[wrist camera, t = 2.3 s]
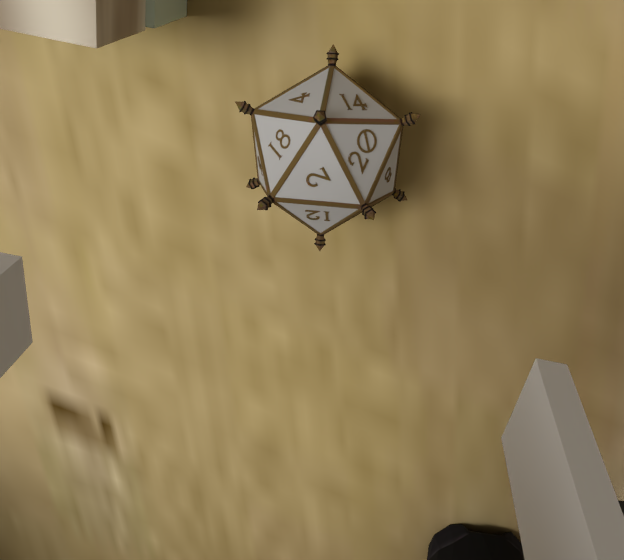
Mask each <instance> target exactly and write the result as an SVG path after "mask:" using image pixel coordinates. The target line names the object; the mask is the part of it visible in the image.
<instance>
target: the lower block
mask: <svg viewBox="0 0 624 560" xmlns="http://www.w3.org/2000/svg"><path fill="white" fill-rule="evenodd" d="M186 16H187V0H146V19H145V27H150V28H157V27H159V26H162V25H165V24H167V23H170V22H172V21H175V20H178V19H180V18H183V17H186Z"/></svg>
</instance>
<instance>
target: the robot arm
mask: <svg viewBox="0 0 624 560" xmlns="http://www.w3.org/2000/svg"><path fill="white" fill-rule="evenodd" d="M31 343H32V334H31V326H30V318H29V310H28V302H27V294H26V286H25V278H24V269H23V261H22V257H21V256H16V255H11V254H6V253H1V252H0V378H1V377H2V376H3V374H4V373H5V372H6V371H7V370H8V369H9V368H10V367H11V366H12V365H13V363H14V362H15V361H16V360H17V359H18V358H19V357H20V356H21V355H22V353H23V352H24V351H25V350H26V349H27V348H28V347H29V346H30V345H31ZM502 444H503V449H504V454H505V459H506V465H507V470H508V475H509V480H510V486H511V491H512V496H513V501H514V507H515V512H516V517H517V522H518V528H519V533H520V538H521V543H522V549H523V554H524V559H525V560H624V501H619V500H618V499H617V497H616V494H615V491H614V489H613V486H612V483H611V481H610V478H609V475H608V473H607V470H606V467H605V465H604V462H603V459H602V457H601V454H600V451H599V449H598V446H597V443H596V440H595V438H594V435H593V432H592V430H591V427H590V424H589V422H588V419H587V416H586V414H585V411H584V408H583V406H582V403H581V400H580V398H579V395H578V392H577V390H576V387H575V384H574V382H573V379H572V376H571V374H570V371H569V368H568V366H567V364H562V363H557V362H552V361H547V360H542V359H537V358H536V359H535V362H534V364H533V366H532V369H531V371H530V373H529V375H528V378H527V380H526V382H525V385H524V387H523V389H522V392H521V394H520V396H519V398H518V401H517V403H516V405H515V408H514V410H513V412H512V415H511V417H510V419H509V421H508V424H507V426H506V428H505V431H504V433H503V435H502Z"/></svg>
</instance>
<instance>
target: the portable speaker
mask: <svg viewBox="0 0 624 560" xmlns="http://www.w3.org/2000/svg"><path fill="white" fill-rule="evenodd" d="M427 560H525V559H524V554H523V549H522V543H521V542H520V541H519V540H518V539H517V538H516V537H515V536H514V534H513V533H512V532H508V533H503V534H502V535H495V534H487V533H480V532H473V531H469V530H468V529H467V528H465V527H464V526H463V525H462V524H459V525H449V526H448V527H446V528H445V529H443V530H441V531H440V532H438V533H437V534H435V535H434V536H433V538H432V540H431V542H430V544H429V548H428V557H427Z"/></svg>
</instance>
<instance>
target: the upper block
mask: <svg viewBox="0 0 624 560" xmlns="http://www.w3.org/2000/svg"><path fill="white" fill-rule="evenodd" d="M145 19H146V0H0V29H4V30H9V31H14V32H19V33H24V34H29V35H34V36H39V37H43V38H48V39H53V40H58V41H63V42H68V43H73V44H78V45H83V46H87V47H92V48H99V47H102V46H104V45H107V44H110V43H112V42H115V41H118V40H120V39H123V38H126V37H128V36H131V35H134V34H136V33H139V32H142V31H145Z"/></svg>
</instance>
